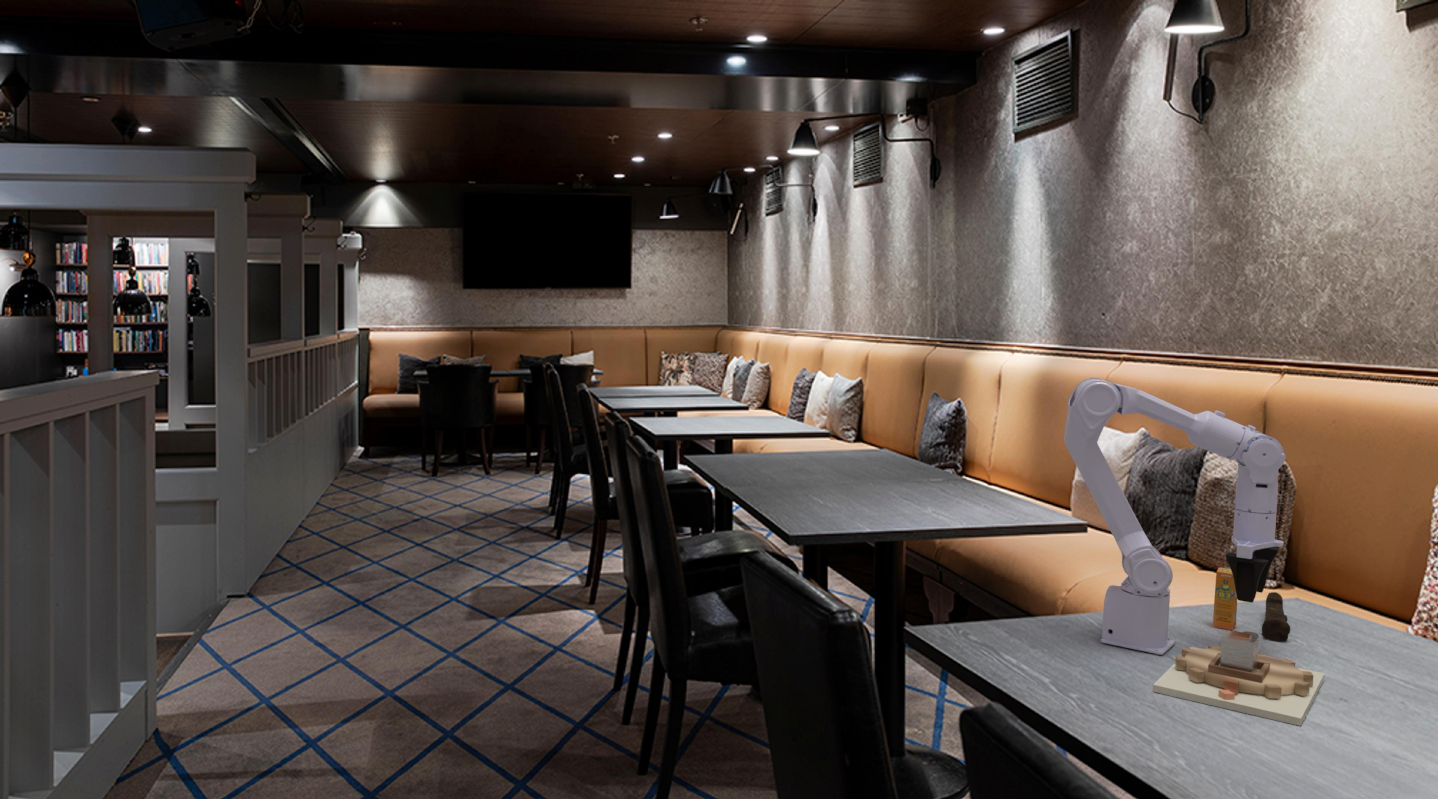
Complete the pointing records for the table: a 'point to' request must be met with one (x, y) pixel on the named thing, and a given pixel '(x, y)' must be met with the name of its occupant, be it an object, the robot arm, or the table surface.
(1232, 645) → the copper-capped metal cube
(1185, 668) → the sprocket disc
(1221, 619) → the supplement box
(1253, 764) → the table surface
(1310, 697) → the index plate
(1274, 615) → the dark brown log
